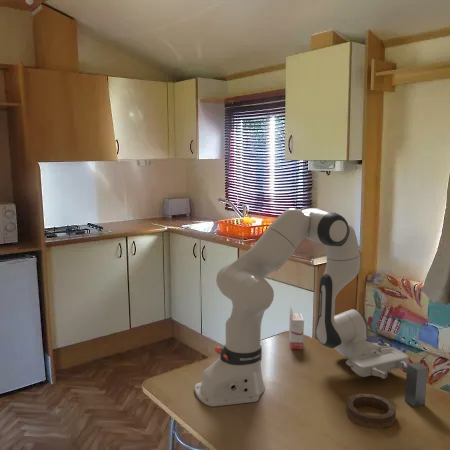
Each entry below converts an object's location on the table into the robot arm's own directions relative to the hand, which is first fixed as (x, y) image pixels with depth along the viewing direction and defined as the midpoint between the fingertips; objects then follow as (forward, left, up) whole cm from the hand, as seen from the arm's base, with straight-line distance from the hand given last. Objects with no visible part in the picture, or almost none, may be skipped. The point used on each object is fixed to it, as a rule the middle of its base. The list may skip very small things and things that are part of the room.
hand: (397, 373), depth 150 cm
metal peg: (0, -8, -6) cm, 10 cm away
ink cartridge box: (-10, +43, -6) cm, 45 cm away
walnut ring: (-17, -8, -6) cm, 20 cm away
